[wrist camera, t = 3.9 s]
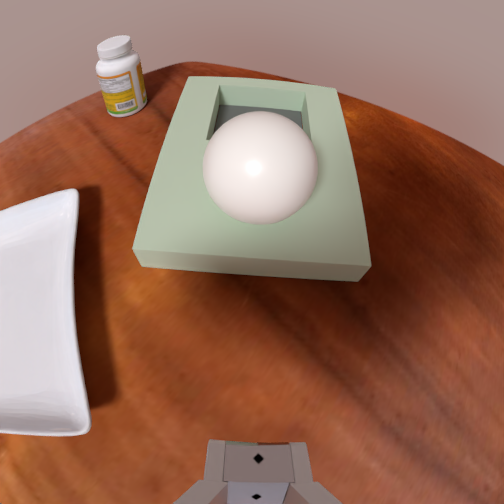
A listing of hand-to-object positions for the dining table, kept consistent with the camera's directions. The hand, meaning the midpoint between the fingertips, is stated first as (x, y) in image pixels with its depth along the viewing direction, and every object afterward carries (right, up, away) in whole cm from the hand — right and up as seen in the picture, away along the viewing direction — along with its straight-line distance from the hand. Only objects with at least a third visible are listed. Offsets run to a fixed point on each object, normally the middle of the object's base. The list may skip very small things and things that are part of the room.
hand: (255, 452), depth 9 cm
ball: (+1, +12, +13) cm, 18 cm away
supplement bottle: (-16, +25, +27) cm, 40 cm away
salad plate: (-23, 0, +14) cm, 27 cm away
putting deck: (0, +15, +23) cm, 27 cm away
